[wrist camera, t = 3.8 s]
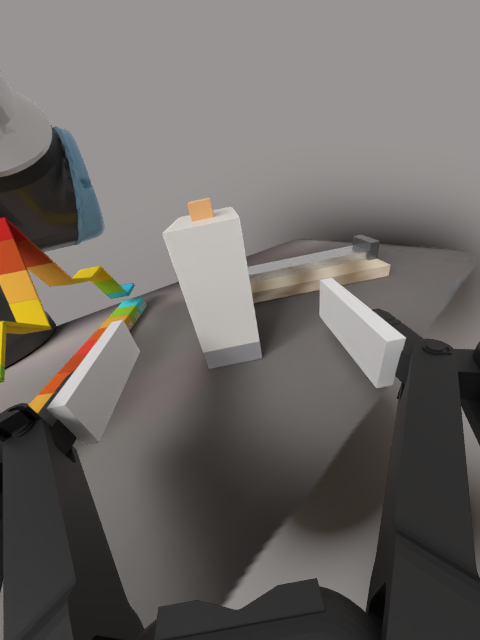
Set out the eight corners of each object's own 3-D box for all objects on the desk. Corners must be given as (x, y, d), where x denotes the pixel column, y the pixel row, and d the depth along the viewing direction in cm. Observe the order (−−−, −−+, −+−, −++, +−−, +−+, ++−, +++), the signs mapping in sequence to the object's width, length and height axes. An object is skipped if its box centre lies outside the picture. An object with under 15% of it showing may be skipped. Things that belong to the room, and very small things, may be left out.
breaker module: (208, 369, 20) (154, 213, 13) (210, 322, 27) (175, 203, 20) (262, 358, 20) (236, 196, 13) (250, 314, 27) (228, 192, 20)
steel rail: (221, 290, 31) (217, 274, 30) (220, 278, 35) (217, 264, 34) (377, 258, 31) (379, 241, 30) (359, 250, 35) (361, 234, 33)
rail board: (224, 309, 29) (222, 299, 29) (222, 281, 38) (220, 272, 37) (388, 275, 29) (390, 264, 28) (349, 255, 38) (350, 246, 37)
